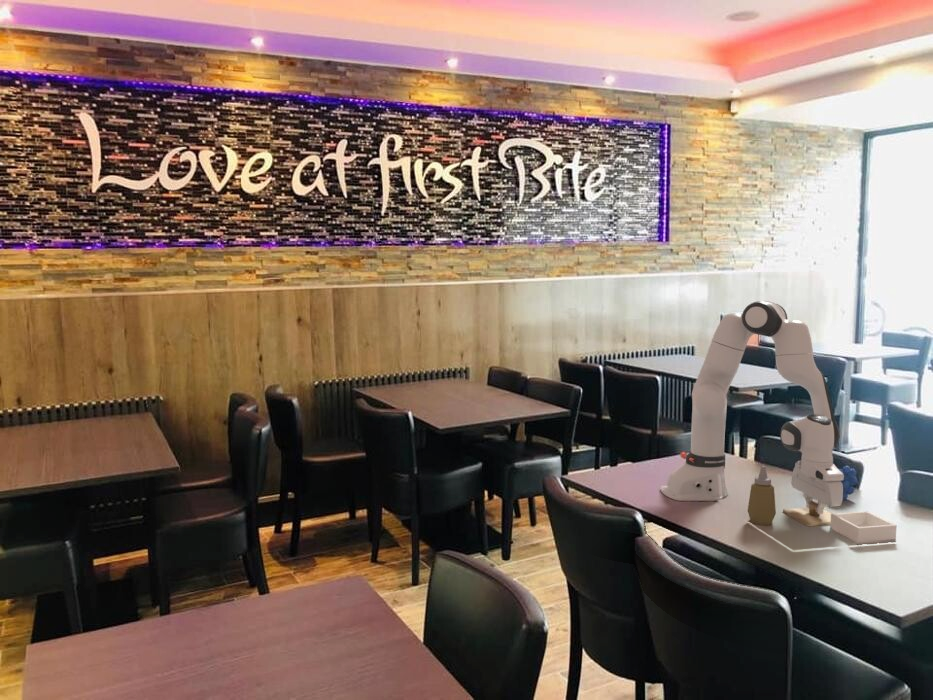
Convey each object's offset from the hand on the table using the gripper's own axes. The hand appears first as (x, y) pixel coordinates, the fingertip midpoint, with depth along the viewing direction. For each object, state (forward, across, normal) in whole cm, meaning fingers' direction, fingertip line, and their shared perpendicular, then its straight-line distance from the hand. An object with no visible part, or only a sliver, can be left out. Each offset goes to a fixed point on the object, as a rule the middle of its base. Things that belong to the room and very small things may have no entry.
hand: (814, 510), depth 226 cm
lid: (+2, 0, 0) cm, 2 cm away
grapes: (+3, -15, +20) cm, 25 cm away
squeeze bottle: (+3, 0, -18) cm, 18 cm away
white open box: (+3, +15, +5) cm, 16 cm away
